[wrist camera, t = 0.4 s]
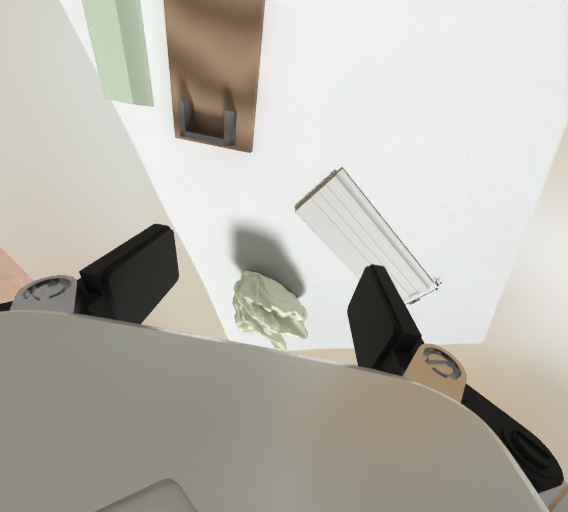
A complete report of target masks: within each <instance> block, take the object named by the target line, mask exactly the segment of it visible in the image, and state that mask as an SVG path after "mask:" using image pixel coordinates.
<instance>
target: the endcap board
mask: <svg viewBox="0 0 568 512" xmlns="http://www.w3.org/2000/svg"><path fill="white" fill-rule="evenodd" d="M264 6H265V0H164V10H165V22H166V34H167V45H168V57H169V69H170V81H171V93H172V105H173V117H174V129H175V138H179V139H184V140H189V141H194V142H199V143H204V144H209V145H214V146H219V147H224V148H229V149H234V150H238V151H243V152H248V153H251V152H252V147H253V135H254V124H255V112H256V100H257V88H258V77H259V65H260V53H261V41H262V30H263V18H264Z"/></svg>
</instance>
